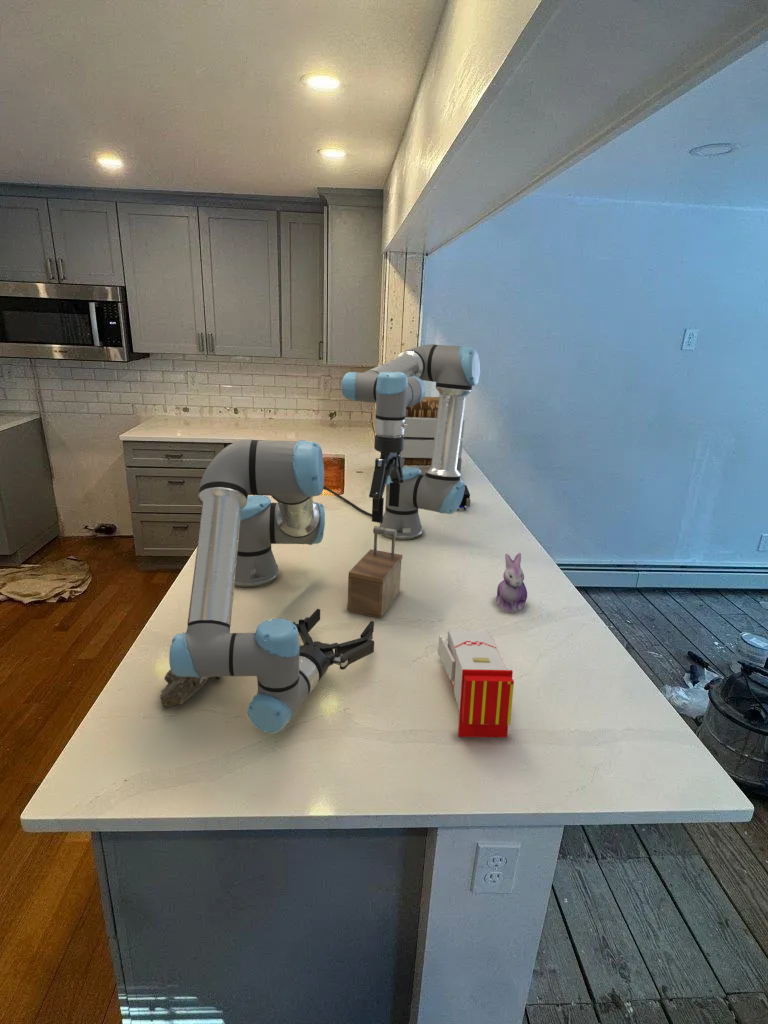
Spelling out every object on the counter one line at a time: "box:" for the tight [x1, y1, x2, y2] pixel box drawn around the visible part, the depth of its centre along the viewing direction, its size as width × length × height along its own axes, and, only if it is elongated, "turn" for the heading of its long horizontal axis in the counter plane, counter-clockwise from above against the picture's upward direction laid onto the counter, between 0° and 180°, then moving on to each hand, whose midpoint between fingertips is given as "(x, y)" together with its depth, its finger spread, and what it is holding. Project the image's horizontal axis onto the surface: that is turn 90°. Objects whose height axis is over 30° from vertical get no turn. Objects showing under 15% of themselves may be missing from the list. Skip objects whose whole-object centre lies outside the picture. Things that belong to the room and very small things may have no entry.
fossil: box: [159, 669, 221, 707], centre depth 118 cm, size 22×10×15 cm
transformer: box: [401, 396, 465, 475], centre depth 268 cm, size 34×33×41 cm
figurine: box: [495, 552, 528, 614], centre depth 152 cm, size 9×10×15 cm
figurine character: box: [456, 484, 471, 512], centre depth 229 cm, size 7×8×15 cm
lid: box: [348, 525, 403, 583], centre depth 149 cm, size 16×9×9 cm, turn 161°
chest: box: [347, 560, 402, 619], centre depth 152 cm, size 16×9×10 cm, turn 161°
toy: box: [437, 628, 515, 738], centre depth 117 cm, size 12×13×30 cm
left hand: (345, 619), depth 133 cm, fingers open, 13 cm apart
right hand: (385, 513), depth 151 cm, fingers open, 13 cm apart
